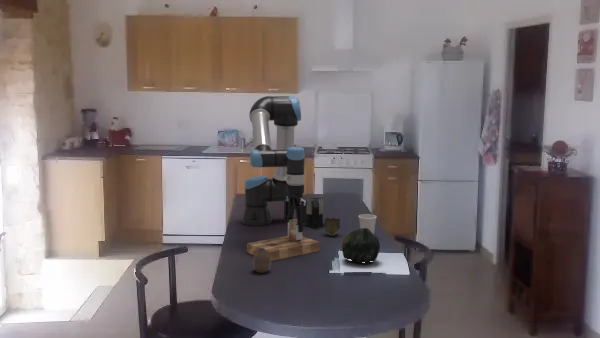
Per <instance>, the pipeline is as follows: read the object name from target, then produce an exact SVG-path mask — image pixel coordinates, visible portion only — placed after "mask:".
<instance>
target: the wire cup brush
mask: <svg viewBox="0 0 600 338" xmlns="http://www.w3.org/2000/svg"><path fill="white" fill-rule="evenodd" d="M323 223H325V225H324V229H325V231H326V232H327V235H328V236H329V237H336V235H337V233H338V231H339V229H340V224H341V219H340V217H335V216H334V217H325V218H323Z"/></svg>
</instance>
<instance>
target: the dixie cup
mask: <svg viewBox="0 0 600 338" xmlns="http://www.w3.org/2000/svg"><path fill="white" fill-rule="evenodd" d="M357 217H358V220H359V229H361V228H367V229H369V230H370V231H371V232H372V233H373V234H374V235H375V228H376V221H377V215H375V214H370V213H369V214H368V213H366V214H365V213H362V214H359V215H358V216H357Z"/></svg>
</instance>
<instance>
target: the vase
mask: <svg viewBox="0 0 600 338" xmlns="http://www.w3.org/2000/svg"><path fill="white" fill-rule="evenodd" d="M252 266H253V269H254V271H255V272H256V273H258V274H266V273H268V272H269V270H270V268H271V266H272V261H271V258H270V256H269V254H268V253H267V252H266V250H265V249H264V248H259V249H258V252H257V253H256V254H255V255H253V258H252Z"/></svg>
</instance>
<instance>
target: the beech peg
mask: <svg viewBox="0 0 600 338" xmlns="http://www.w3.org/2000/svg"><path fill="white" fill-rule="evenodd" d="M296 224H297V218H293V219H290V220H289V239H290V240H291V241H292V242H298V241H299V240H296Z"/></svg>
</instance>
